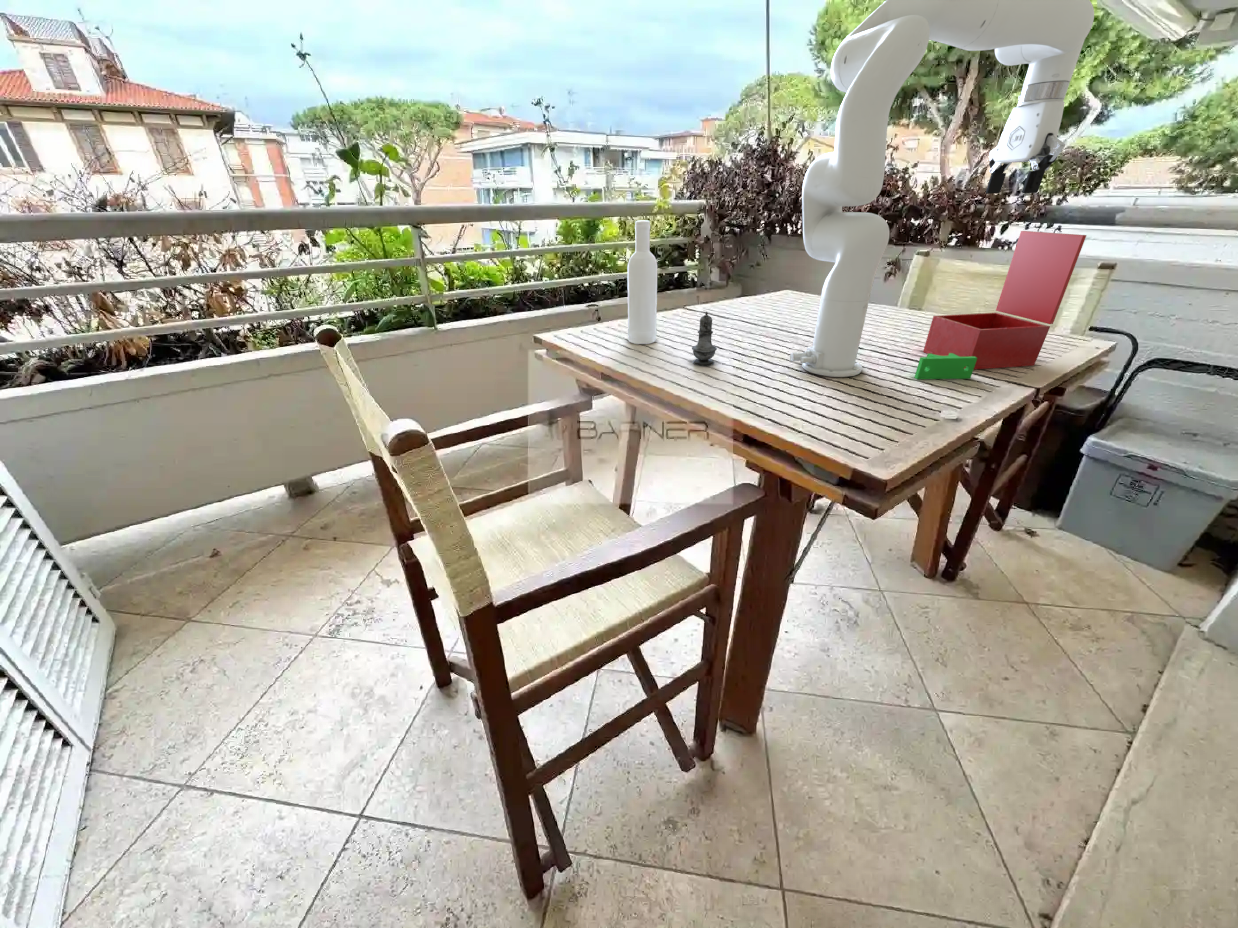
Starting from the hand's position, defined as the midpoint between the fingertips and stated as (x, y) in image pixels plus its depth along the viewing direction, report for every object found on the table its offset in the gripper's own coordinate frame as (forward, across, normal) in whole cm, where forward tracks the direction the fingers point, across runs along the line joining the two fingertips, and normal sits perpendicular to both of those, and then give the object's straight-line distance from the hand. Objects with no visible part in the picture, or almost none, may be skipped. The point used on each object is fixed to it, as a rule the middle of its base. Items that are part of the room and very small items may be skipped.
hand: (1010, 193), depth 106 cm
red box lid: (+16, +9, +5) cm, 19 cm away
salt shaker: (+34, 0, -67) cm, 75 cm away
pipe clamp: (+34, +19, -20) cm, 44 cm away
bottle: (+34, -23, -78) cm, 88 cm away
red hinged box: (+34, +9, -3) cm, 36 cm away
